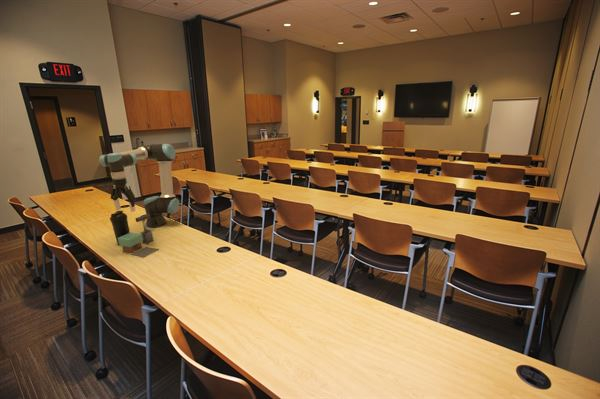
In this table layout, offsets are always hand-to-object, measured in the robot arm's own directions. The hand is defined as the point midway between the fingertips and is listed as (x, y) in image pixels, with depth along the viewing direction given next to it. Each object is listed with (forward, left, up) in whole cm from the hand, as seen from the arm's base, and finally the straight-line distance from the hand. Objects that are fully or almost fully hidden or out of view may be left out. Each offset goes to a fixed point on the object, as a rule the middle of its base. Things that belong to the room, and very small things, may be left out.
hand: (125, 210), depth 188 cm
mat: (+1, +11, -27) cm, 30 cm away
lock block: (-11, 0, -27) cm, 30 cm away
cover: (+1, 0, -22) cm, 22 cm away
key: (-10, +4, -19) cm, 22 cm away
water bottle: (-5, -16, -28) cm, 32 cm away
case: (+1, 0, -27) cm, 27 cm away
